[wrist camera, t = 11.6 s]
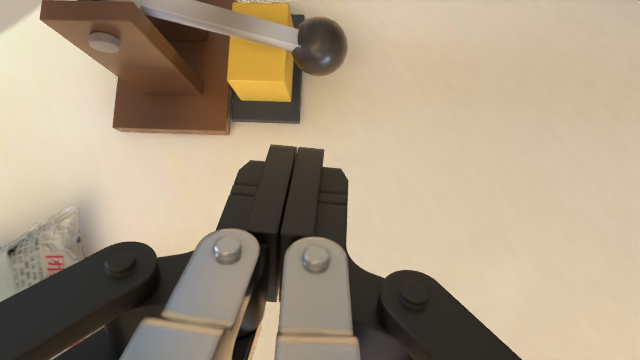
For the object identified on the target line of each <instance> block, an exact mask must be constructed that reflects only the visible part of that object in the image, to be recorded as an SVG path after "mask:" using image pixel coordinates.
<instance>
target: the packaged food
mask: <svg viewBox="0 0 640 360" xmlns="http://www.w3.org/2000/svg"><path fill="white" fill-rule="evenodd" d="M53 221H54V222H53ZM78 227H79V221H78V208H77V207H74V206H70V207H67V208H66V209H64V210H63V211H61V212H60V213H59V214H58V215H57V216H55V217H53V218H51V219H49V220H48V221H47V222H45V223H44V224H42V225H39V223H35V224H34V225H33V226H32V227H31V228H30V229H29V230H28V231H27V232H26V233H25V234H23V235H22V236H21V237H20V238H18V239H17V240H15V241H13V242H11V243H10V244H8V245H6V246H4V247H2V248H0V302H1V301H3V300H5V299H7V298H9V297H11V296H13V295H14V294H16V293H18V292H20V291H22V290H24V289H26V288H28V287H30V286H32V285H34V284H36V283H38V282H40V281H42V280H44V279H46V278H48V277H50V276H52V275H53V274H55V273H57V272H59V271H61V270H63V269H65V268H67V267H69V266H71V265H73V264H75V263H77V262H79V261H81V260H83V259H84V254H83V249H82V243H81V237H80V230H79V228H78ZM101 328H103V327H101ZM101 328H99V329H98V330H100V329H101ZM98 330H96V331H95V332H97V331H98ZM95 332H93V333H95ZM93 333H91V334H90V335H92V334H93ZM90 335H88V336H87V337H89V336H90ZM87 337H85V338H87ZM85 338H83V339H82V340H84V339H85ZM82 340H80V341H79V342H81V341H82ZM79 342H77V343H75V344H74V345H76V344H78V343H79ZM74 345H72V346H71V347H73V346H74ZM71 347H69V348H67V349H66V350H68V349H70V348H71ZM66 350H64V351H63V352H65V351H66ZM63 352H61V353H59V354H58V355H60V354H62V353H63ZM58 355H56V356H55V357H57V356H58ZM55 357H53V358H51V359H50V360H52V359H54V358H55Z"/></svg>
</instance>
